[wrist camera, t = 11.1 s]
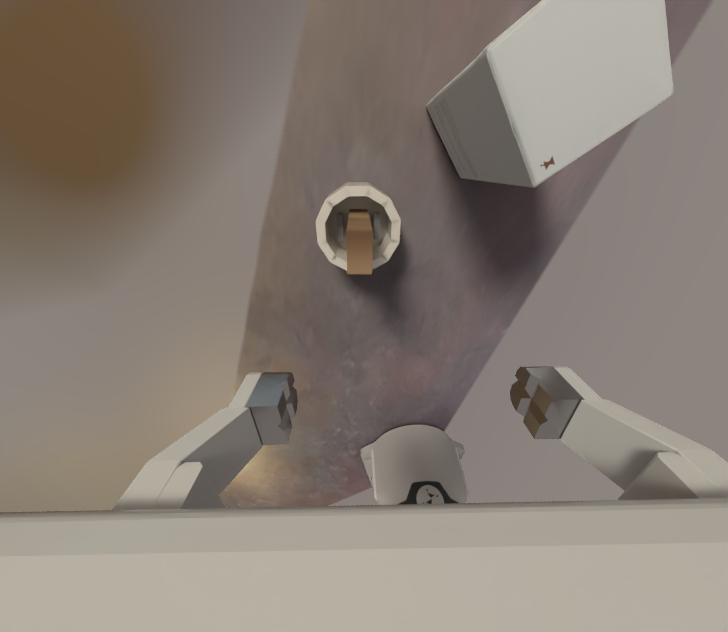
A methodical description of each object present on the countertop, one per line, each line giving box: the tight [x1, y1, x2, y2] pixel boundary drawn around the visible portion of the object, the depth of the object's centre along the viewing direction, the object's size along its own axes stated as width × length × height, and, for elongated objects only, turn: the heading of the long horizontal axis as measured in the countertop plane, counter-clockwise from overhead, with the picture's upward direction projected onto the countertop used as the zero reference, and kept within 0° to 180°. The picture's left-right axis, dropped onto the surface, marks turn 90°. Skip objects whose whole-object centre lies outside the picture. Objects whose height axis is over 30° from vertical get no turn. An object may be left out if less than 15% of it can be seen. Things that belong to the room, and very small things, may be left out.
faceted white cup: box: [316, 182, 401, 271], centre depth 26 cm, size 8×8×4 cm
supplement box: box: [426, 0, 673, 188], centre depth 18 cm, size 7×7×13 cm
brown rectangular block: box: [346, 209, 373, 274], centre depth 23 cm, size 3×2×10 cm, turn 179°
